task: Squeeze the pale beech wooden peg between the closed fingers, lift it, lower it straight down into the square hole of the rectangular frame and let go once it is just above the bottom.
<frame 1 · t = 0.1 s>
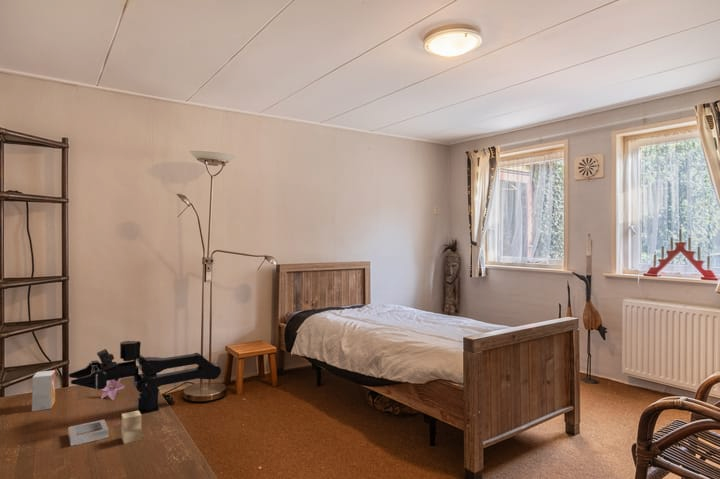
hand: (69, 378, 154), 17 cm above the table, fingers open, 9 cm apart
rectangular frame: (88, 435, 146), on the table
peg: (131, 438, 144), on the table
small box: (43, 407, 172), on the table
lily: (111, 397, 183), on the table
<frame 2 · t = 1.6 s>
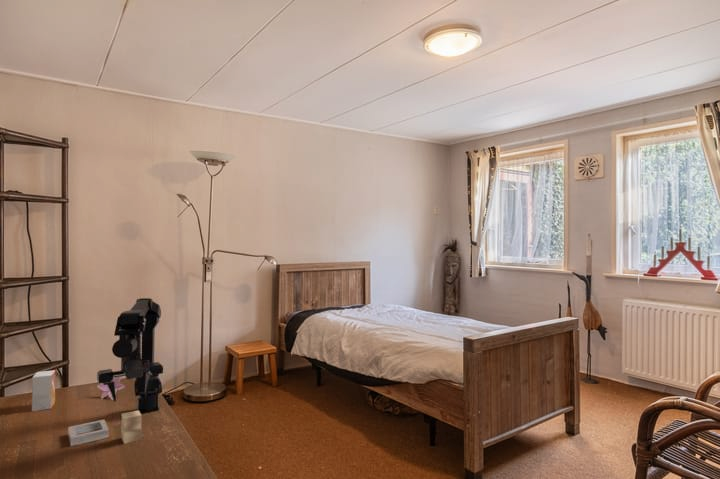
hand: (130, 398, 144), 13 cm above the table, fingers open, 9 cm apart
nothing on the table moved.
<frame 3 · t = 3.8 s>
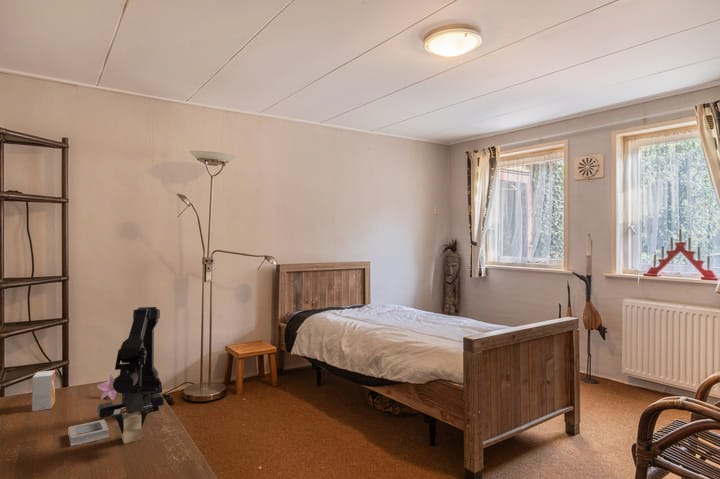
hand: (131, 431, 144), 3 cm above the table, fingers closed on peg, 5 cm apart
peg: (131, 438, 144), on the table, touching gripper
everything else where it was.
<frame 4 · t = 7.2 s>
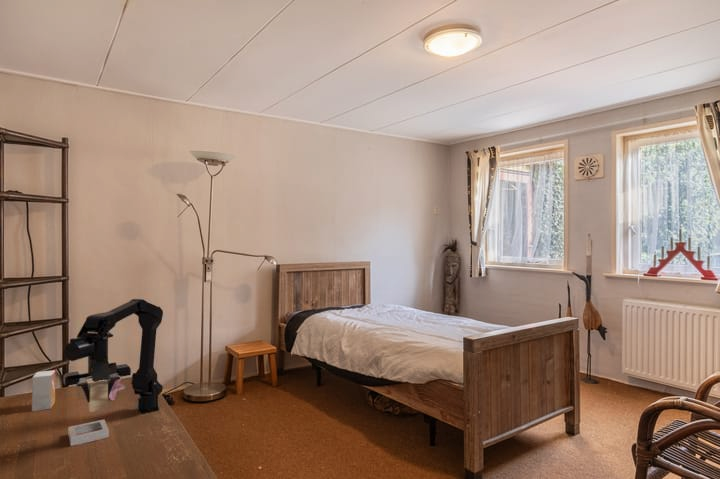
hand: (97, 400, 145), 12 cm above the table, fingers closed on peg, 5 cm apart
peg: (97, 408, 145), point 9 cm above the table, touching gripper
everything else where it was.
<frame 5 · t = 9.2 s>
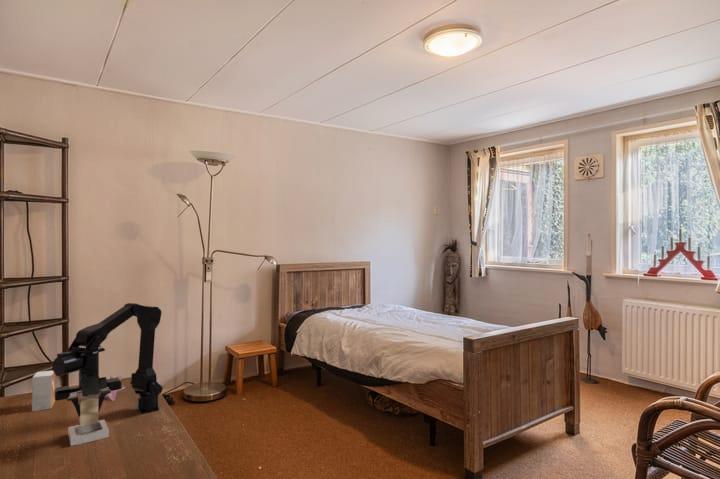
hand: (88, 414, 146), 7 cm above the table, fingers closed on peg, 5 cm apart
peg: (88, 421, 146), point 5 cm above the table, touching gripper
when the fingers open (3 cm above the table, at t = 10.8 s): peg stays where it is, resting in rectangular frame.
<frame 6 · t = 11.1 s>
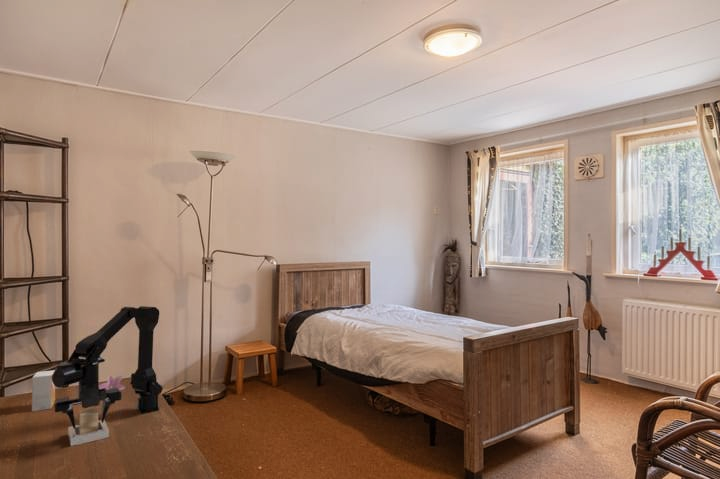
hand: (88, 425, 146), 3 cm above the table, fingers open, 8 cm apart
peg: (88, 436, 146), resting in rectangular frame
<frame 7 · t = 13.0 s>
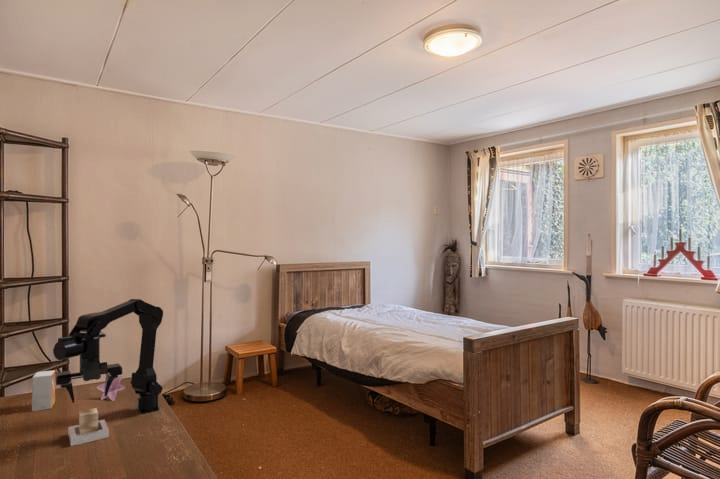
hand: (89, 399, 147), 12 cm above the table, fingers open, 9 cm apart
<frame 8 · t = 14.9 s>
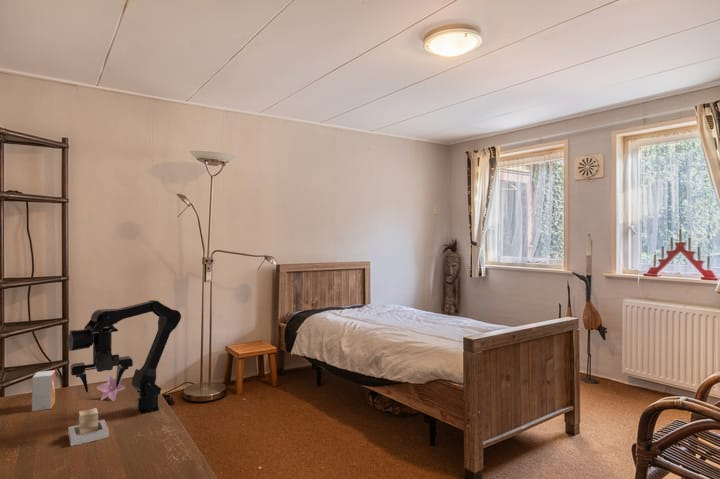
hand: (102, 389, 156), 12 cm above the table, fingers open, 9 cm apart
at the end: peg 0.0 cm off-centre on the rectangular frame, point 0.0 cm above the rectangular frame's base; peg tilted 0°; the gripper is holding nothing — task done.
